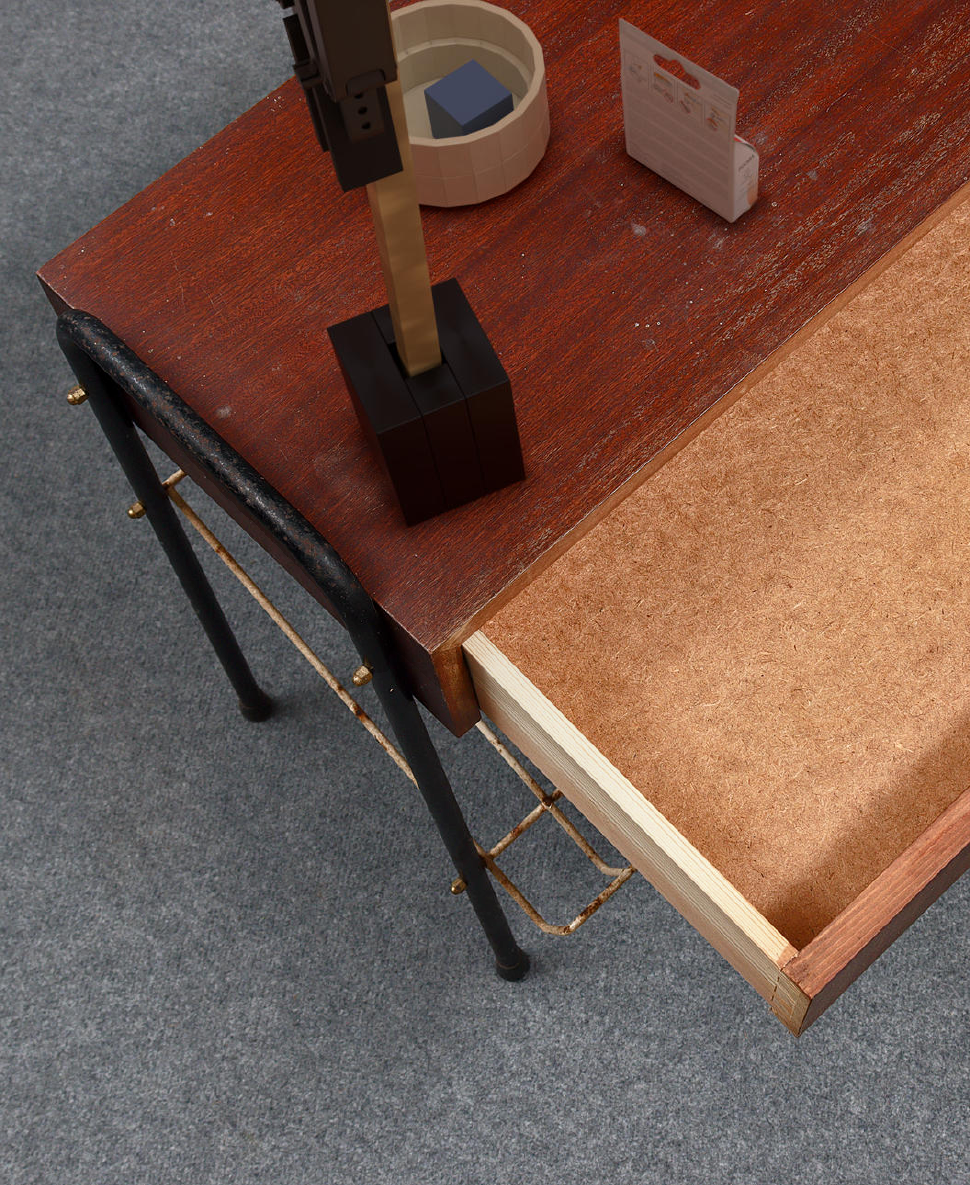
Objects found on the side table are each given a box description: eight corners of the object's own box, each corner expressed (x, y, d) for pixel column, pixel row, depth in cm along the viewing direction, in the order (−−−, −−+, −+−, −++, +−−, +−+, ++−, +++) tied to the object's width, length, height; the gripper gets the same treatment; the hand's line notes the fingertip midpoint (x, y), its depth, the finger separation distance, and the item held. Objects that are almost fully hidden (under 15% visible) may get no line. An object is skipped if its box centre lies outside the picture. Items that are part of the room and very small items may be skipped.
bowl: (403, 239, 88) (387, 173, 83) (335, 109, 93) (316, 38, 88) (581, 171, 90) (576, 101, 85) (504, 46, 95) (496, -27, 90)
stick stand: (407, 529, 79) (376, 434, 70) (361, 429, 82) (325, 327, 73) (526, 478, 80) (510, 379, 71) (476, 382, 83) (455, 276, 74)
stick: (423, 450, 78) (343, 10, 52) (411, 426, 79) (326, -21, 52) (453, 439, 79) (388, -4, 52) (441, 415, 79) (371, -34, 53)
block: (469, 171, 90) (462, 125, 86) (432, 136, 91) (423, 90, 87) (517, 139, 91) (512, 93, 87) (480, 105, 92) (473, 58, 88)
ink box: (647, 131, 91) (647, -13, 81) (758, 203, 88) (771, 63, 78) (618, 157, 90) (614, 15, 80) (728, 230, 87) (739, 92, 77)
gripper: (432, -360, 35) (510, 248, 57) (245, -624, 41) (379, 15, 63) (151, -273, 34) (338, 314, 55) (1, -558, 40) (221, 70, 62)
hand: (360, 154), depth 59 cm, fingers closed on stick, 2 cm apart
